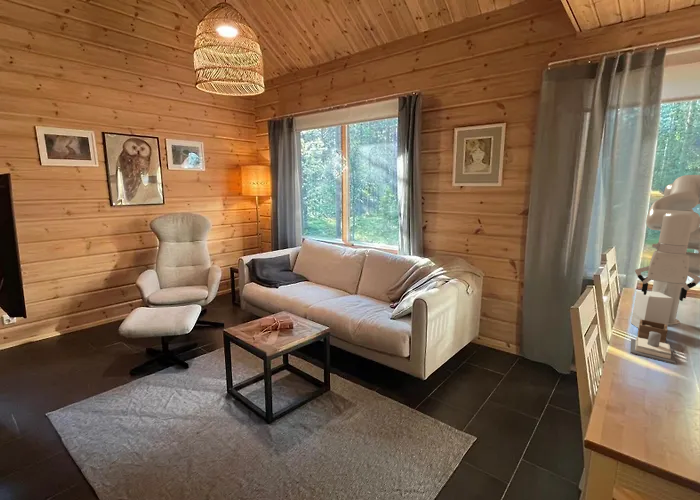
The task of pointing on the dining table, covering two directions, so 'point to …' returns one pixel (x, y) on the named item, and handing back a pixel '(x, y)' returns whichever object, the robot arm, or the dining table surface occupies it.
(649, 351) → the lid
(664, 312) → the supplement box
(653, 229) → the robot arm
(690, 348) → the dining table surface
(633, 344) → the mat
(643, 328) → the storage box
